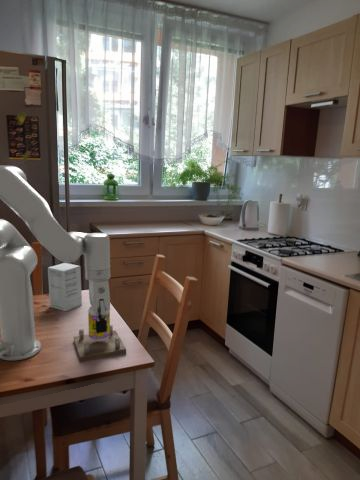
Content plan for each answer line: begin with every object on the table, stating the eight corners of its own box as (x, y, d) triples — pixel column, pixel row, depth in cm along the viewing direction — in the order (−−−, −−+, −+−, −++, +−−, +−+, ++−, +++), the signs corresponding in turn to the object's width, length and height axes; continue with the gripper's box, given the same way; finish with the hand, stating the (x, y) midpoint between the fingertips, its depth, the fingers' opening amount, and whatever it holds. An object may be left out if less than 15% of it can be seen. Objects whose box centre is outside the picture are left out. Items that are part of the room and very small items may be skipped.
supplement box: (82, 304, 153) (81, 265, 150) (65, 312, 146) (64, 271, 142) (66, 300, 158) (64, 262, 155) (48, 306, 150) (47, 267, 147)
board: (126, 353, 115) (126, 340, 114) (80, 361, 110) (80, 347, 109) (115, 334, 128) (115, 322, 127) (73, 341, 122) (73, 328, 121)
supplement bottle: (89, 343, 114) (88, 304, 112) (88, 334, 120) (87, 296, 118) (111, 340, 116) (110, 302, 113) (109, 331, 122) (108, 295, 120)
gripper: (116, 280, 107) (117, 337, 111) (104, 264, 123) (105, 315, 127) (90, 282, 104) (92, 341, 108) (81, 266, 120) (82, 318, 124)
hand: (99, 326), depth 117 cm, fingers closed on supplement bottle, 6 cm apart
